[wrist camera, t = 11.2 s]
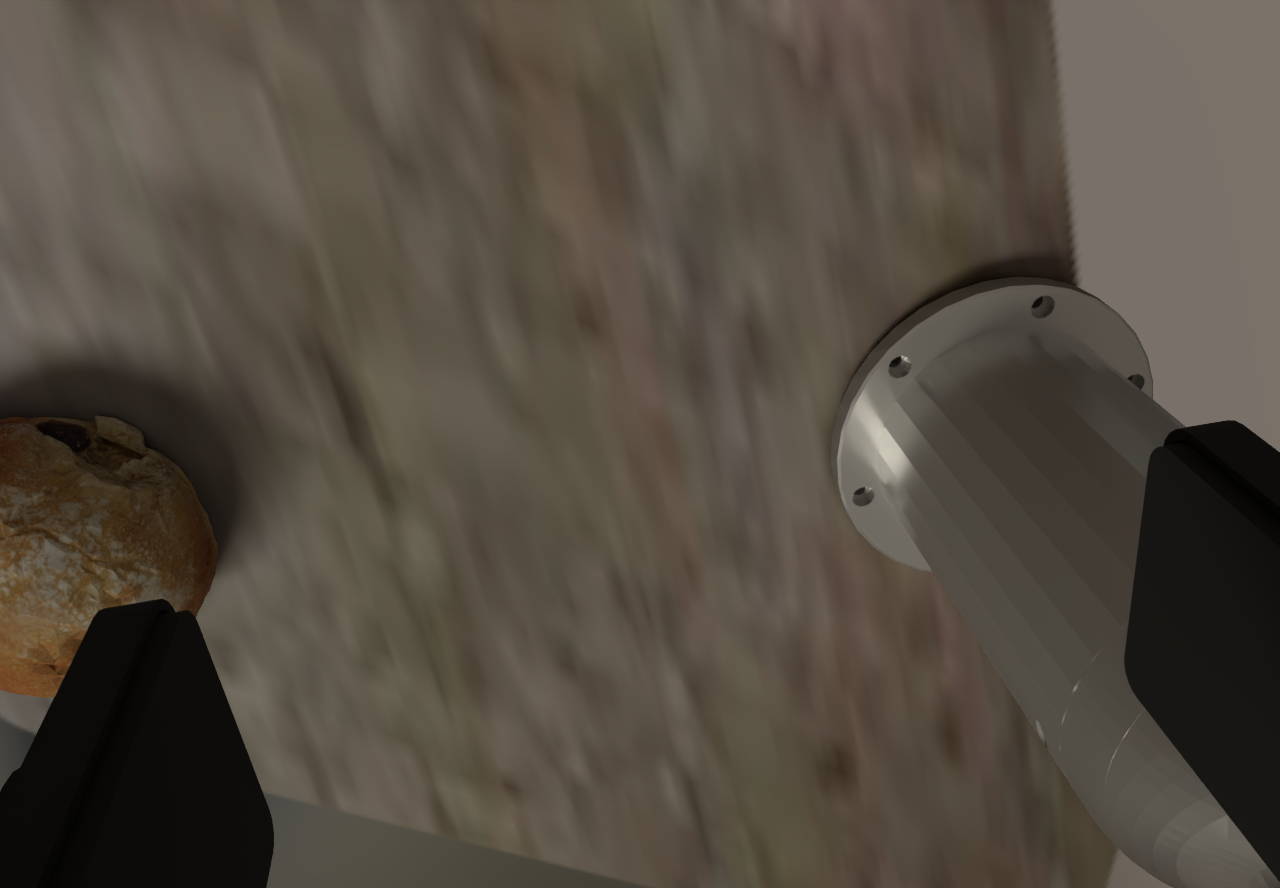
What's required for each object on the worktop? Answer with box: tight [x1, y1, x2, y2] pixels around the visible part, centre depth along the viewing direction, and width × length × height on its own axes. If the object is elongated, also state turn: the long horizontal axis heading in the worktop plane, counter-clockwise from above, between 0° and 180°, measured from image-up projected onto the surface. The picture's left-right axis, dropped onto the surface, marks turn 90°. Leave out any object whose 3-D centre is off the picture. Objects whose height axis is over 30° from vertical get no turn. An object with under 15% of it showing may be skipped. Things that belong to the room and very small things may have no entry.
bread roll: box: [0, 415, 218, 698], centre depth 38 cm, size 10×10×8 cm
